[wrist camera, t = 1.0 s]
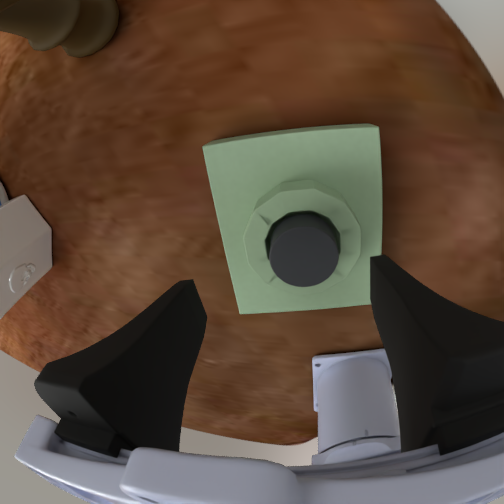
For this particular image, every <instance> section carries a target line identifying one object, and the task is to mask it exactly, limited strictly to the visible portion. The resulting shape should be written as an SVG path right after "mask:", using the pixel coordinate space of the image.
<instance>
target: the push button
mask: <svg viewBox="0 0 504 504" xmlns="http://www.w3.org/2000/svg"><path fill="white" fill-rule="evenodd" d="M338 259H339V252H338V248H337V244H336V240H335V237H334V233H333V231H332V229H331V227H330V226H329V225H328V224H327V223H326V222H325V221H324V220H322V219H321V218H319V217H317V216H314V215H310V214H297V215H293V216H290V217H288V218H286V219H284V220H283V221H282V222H281V223H280V224H279V225H278V226H277V227H276V228H275V230H274V232H273V235H272V239H271V245H270V252H269V261H270V265H271V268H272V270H273V272H274V273H275V274H276V276H277V277H278V278H279V279H281V280H282V281H284V282H285V283H287V284H289V285H292V286H297V287H310V286H315V285H317V284H320V283H322V282H324V281H325V280H326V279H328V278H329V277H330V276H331V275H332V273H333V272H334V271H335V269H336V267H337V264H338Z"/></svg>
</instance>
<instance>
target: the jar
mask: <svg viewBox="0 0 504 504" xmlns="http://www.w3.org/2000/svg"><path fill="white" fill-rule="evenodd" d="M51 268H52V229H51V227H50V226H49V225H48V224H47V222H46V221H45V220H44V219H43V217H42V216H41V215H40V213H39V212H38V211H37V210H36V208H35V207H34V206H33V204H32V203H31V202H30V200H29V199H28V198H27V196H26V195H21V196H19V197H16V198H14V199H11V200H9V201H7V202H6V203H4V204H2V205H0V319H1V318H2V317H3V316H4V315H5V314H6V313H7V311H8V310H9V309H10V308H11V307H12V306H13V305H14V304H15V303H16V302H17V301H18V300H19V299H20V298H21V297H22V296H23V295H24V294H25V293H26V292H27V291H28V290H29V289H30V288H31V287H32V286H33V285H34V284H35V283H36V282H37V281H38V280H39V279H40V278H41V277H42V276H44V275H45V274H46V273H47V272H48V271H49V270H50V269H51Z"/></svg>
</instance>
